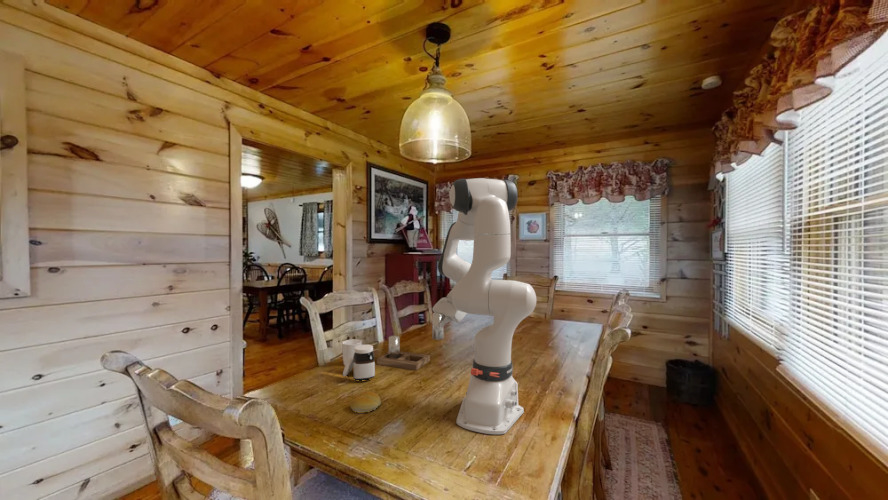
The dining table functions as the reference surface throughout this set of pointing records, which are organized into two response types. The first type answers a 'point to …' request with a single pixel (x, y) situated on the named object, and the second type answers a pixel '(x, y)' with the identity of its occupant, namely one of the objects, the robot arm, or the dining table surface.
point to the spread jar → (361, 363)
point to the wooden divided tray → (404, 360)
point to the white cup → (349, 349)
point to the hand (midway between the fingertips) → (436, 324)
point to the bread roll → (365, 402)
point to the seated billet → (394, 347)
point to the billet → (437, 330)
